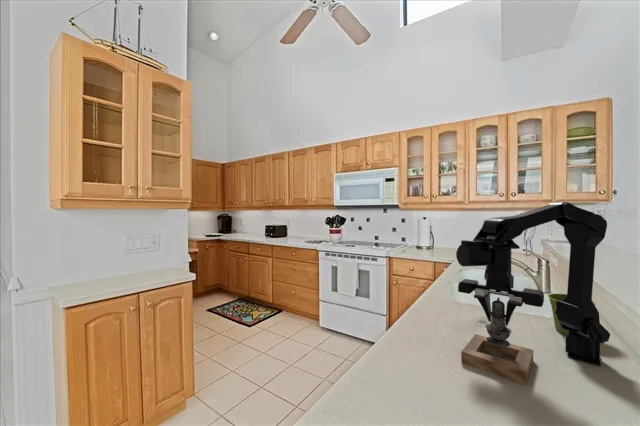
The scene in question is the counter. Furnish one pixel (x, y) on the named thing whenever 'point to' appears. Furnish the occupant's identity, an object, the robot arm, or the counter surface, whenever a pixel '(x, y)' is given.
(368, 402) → the counter surface
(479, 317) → the mounting bracket
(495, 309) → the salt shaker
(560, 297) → the plant pot
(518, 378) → the well block
